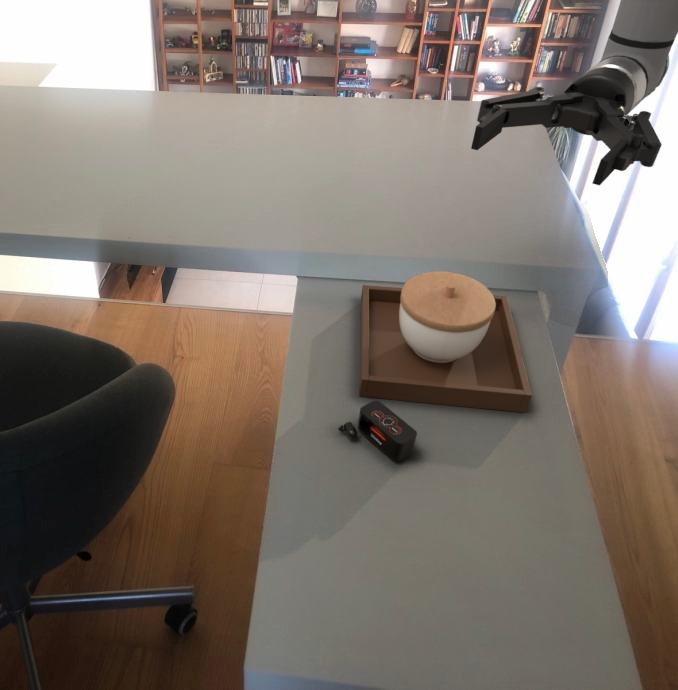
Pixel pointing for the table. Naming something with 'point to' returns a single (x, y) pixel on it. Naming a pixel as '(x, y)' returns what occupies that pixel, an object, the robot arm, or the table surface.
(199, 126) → the table surface
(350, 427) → the wireless earbuds
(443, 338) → the trinket box
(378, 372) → the tray
